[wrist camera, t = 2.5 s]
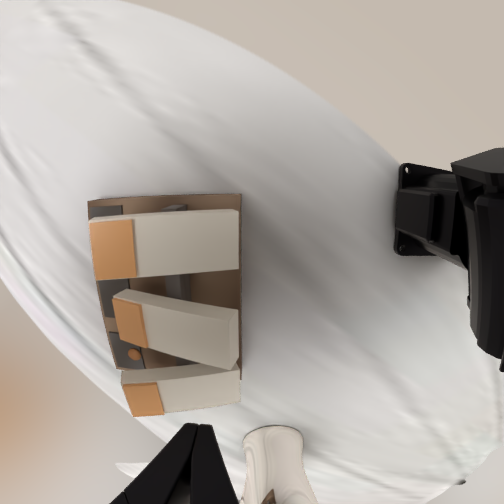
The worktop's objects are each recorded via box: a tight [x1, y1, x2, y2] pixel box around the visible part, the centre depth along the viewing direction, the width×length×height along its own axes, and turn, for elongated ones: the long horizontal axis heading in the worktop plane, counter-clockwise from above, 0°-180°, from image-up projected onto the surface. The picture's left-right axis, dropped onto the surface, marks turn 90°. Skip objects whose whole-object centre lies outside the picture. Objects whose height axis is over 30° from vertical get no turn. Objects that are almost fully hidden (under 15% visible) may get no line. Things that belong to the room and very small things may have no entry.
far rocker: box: [121, 362, 240, 417], centre depth 15 cm, size 7×3×1 cm, turn 89°
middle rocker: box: [112, 289, 239, 370], centre depth 14 cm, size 7×3×1 cm, turn 90°
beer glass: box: [240, 426, 318, 504], centre depth 16 cm, size 7×7×15 cm
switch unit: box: [87, 194, 242, 380], centre depth 17 cm, size 10×13×4 cm
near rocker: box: [88, 209, 239, 281], centre depth 13 cm, size 7×3×1 cm, turn 89°
